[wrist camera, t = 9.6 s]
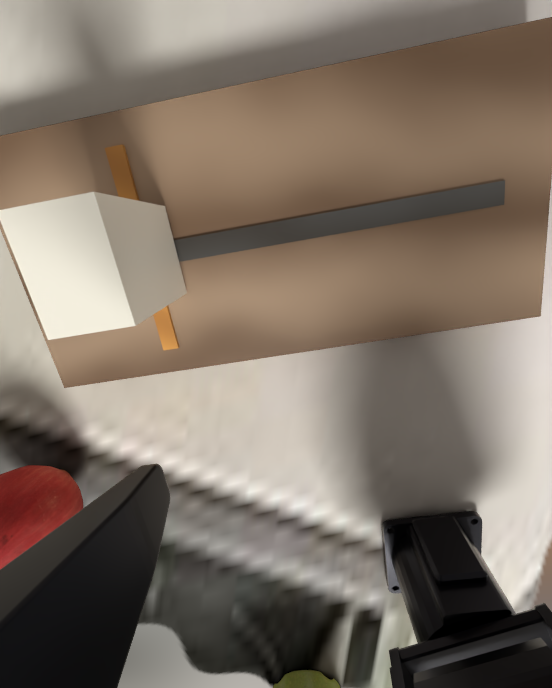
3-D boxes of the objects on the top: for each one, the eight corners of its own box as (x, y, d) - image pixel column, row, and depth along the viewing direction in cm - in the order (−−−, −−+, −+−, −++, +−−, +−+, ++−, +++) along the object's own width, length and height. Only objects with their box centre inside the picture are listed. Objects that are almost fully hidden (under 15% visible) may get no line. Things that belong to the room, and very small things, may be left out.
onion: (123, 495, 23) (44, 623, 16) (53, 518, 24) (-53, 649, 17) (77, 427, 22) (-35, 533, 14) (4, 454, 23) (-138, 568, 15)
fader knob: (187, 293, 17) (135, 325, 11) (128, 303, 17) (48, 340, 11) (164, 205, 15) (93, 191, 10) (102, 217, 16) (-4, 210, 10)
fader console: (514, 307, 19) (543, 317, 16) (84, 373, 20) (62, 389, 18) (528, 42, 15) (568, 11, 13) (1, 153, 17) (-39, 142, 15)
